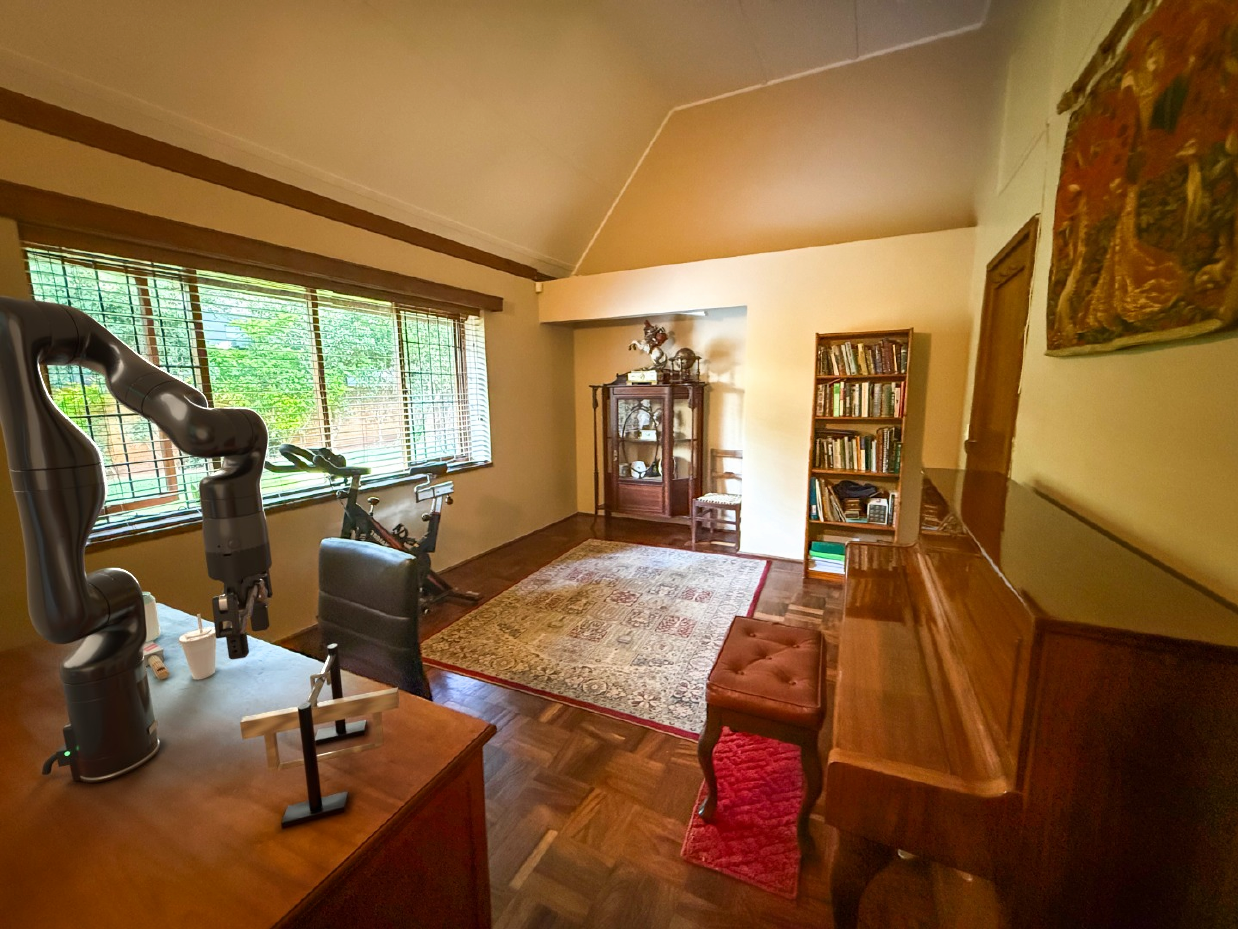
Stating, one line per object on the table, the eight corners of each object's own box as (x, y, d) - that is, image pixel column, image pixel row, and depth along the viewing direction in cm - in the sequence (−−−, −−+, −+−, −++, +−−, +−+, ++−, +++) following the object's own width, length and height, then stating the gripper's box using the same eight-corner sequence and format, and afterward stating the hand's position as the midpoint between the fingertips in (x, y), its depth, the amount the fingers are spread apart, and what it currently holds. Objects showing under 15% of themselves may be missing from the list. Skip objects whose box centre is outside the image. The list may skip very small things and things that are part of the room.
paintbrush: (154, 634, 115) (174, 666, 104) (155, 645, 116) (175, 677, 104) (132, 641, 112) (150, 674, 101) (133, 651, 113) (151, 685, 101)
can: (152, 631, 123) (145, 588, 121) (166, 637, 120) (159, 593, 118) (115, 645, 117) (107, 599, 115) (130, 651, 114) (121, 604, 112)
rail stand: (281, 829, 67) (267, 718, 65) (318, 734, 86) (308, 645, 83) (344, 812, 70) (333, 705, 67) (367, 724, 88) (359, 638, 86)
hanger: (247, 780, 73) (235, 691, 71) (251, 773, 75) (239, 685, 72) (401, 745, 80) (394, 663, 78) (402, 739, 82) (395, 658, 79)
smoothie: (227, 671, 105) (219, 613, 103) (190, 686, 100) (181, 625, 98) (216, 663, 109) (208, 606, 106) (180, 677, 103) (170, 617, 101)
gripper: (227, 531, 75) (240, 625, 78) (180, 561, 62) (197, 673, 64) (283, 527, 78) (293, 618, 80) (249, 554, 65) (262, 663, 67)
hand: (250, 643), depth 72 cm, fingers open, 8 cm apart
